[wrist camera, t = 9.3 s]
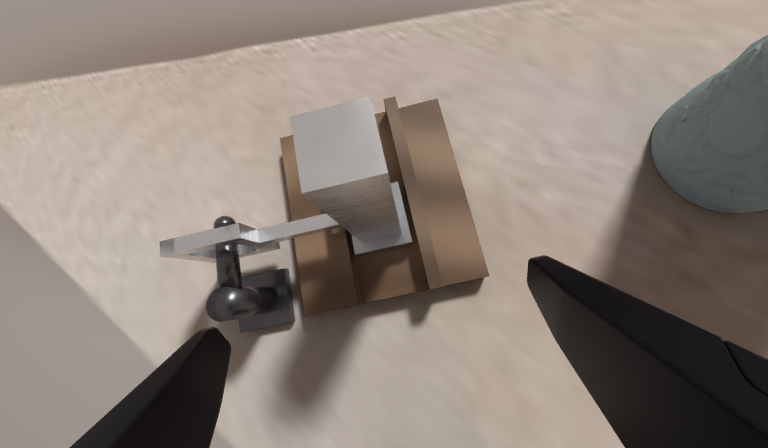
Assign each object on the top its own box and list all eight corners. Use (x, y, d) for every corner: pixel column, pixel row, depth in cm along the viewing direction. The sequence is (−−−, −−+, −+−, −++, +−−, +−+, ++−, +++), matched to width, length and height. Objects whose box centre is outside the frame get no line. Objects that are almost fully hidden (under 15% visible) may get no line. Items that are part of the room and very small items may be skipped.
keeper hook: (294, 320, 19) (257, 332, 15) (245, 331, 20) (192, 345, 15) (282, 223, 21) (244, 206, 16) (236, 234, 21) (186, 220, 16)
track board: (484, 276, 19) (495, 275, 16) (311, 314, 19) (295, 318, 17) (436, 108, 22) (439, 85, 19) (287, 145, 22) (270, 128, 20)
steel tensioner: (412, 244, 18) (410, 191, 8) (222, 286, 19) (-4, 288, 9) (398, 186, 19) (381, 73, 9) (217, 229, 20) (8, 170, 10)
